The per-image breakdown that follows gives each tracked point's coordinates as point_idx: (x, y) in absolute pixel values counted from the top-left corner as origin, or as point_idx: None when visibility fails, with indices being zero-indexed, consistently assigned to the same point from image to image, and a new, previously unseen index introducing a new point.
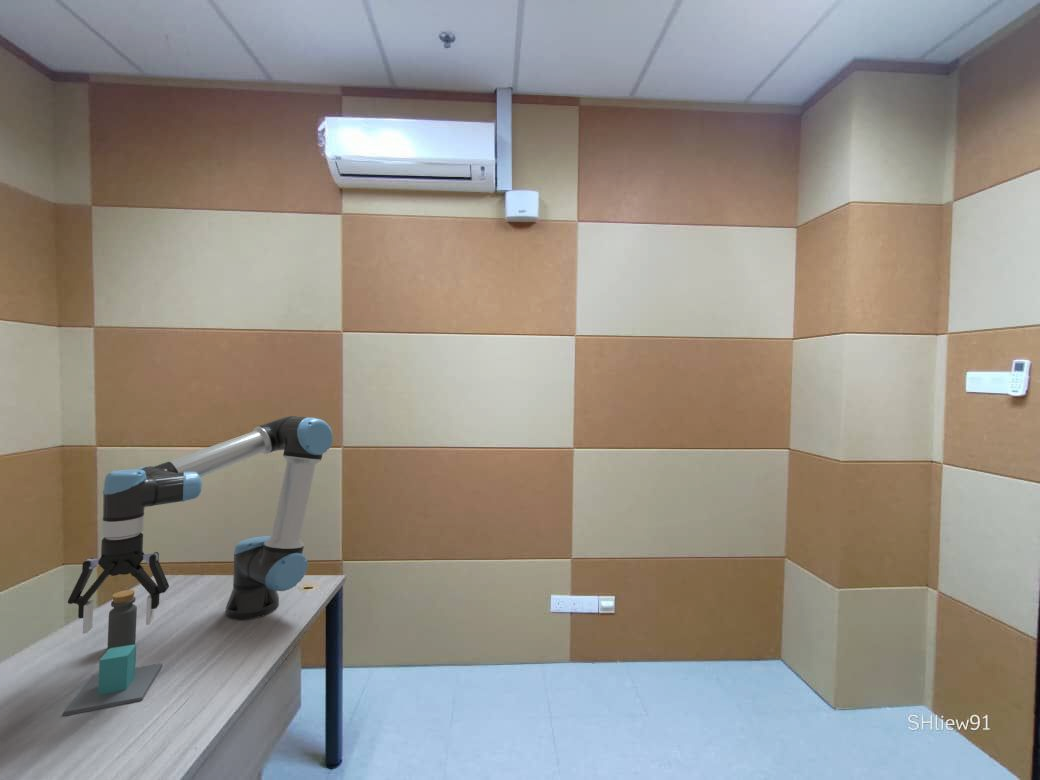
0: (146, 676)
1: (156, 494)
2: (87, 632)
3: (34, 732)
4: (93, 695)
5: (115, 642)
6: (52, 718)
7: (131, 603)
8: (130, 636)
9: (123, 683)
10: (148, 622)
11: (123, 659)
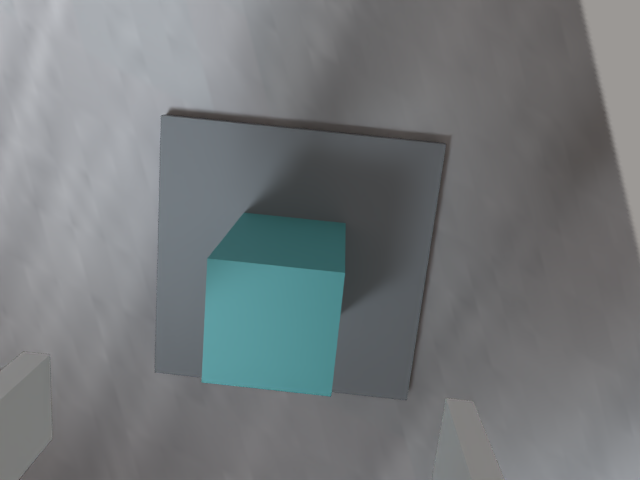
0: (190, 286)
1: None
2: (444, 407)
3: (514, 64)
4: (362, 227)
5: None
6: (475, 142)
7: None
8: None
9: (250, 221)
10: (22, 359)
11: (231, 255)
